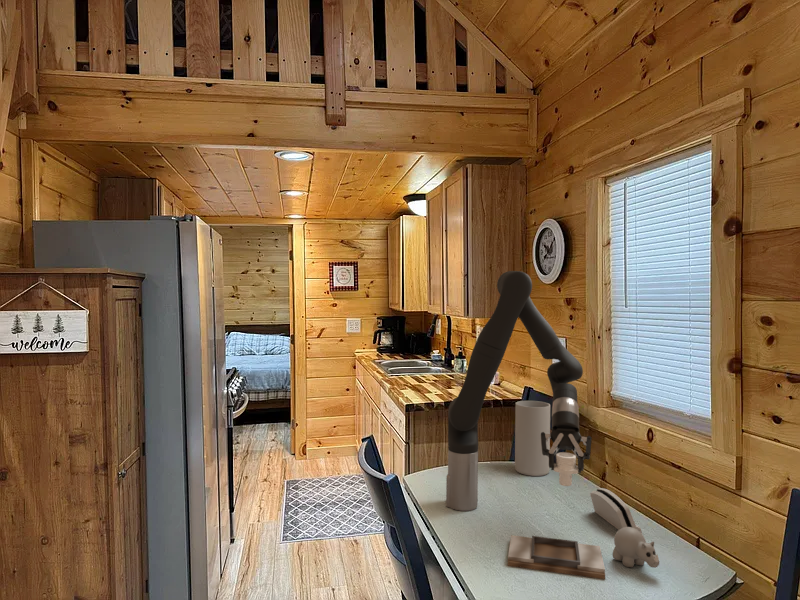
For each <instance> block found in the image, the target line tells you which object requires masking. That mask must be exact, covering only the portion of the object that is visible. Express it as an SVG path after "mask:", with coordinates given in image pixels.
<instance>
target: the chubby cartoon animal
mask: <svg viewBox="0 0 800 600" xmlns="http://www.w3.org/2000/svg"><path fill="white" fill-rule="evenodd" d="M613 541H614V546H615V547H614V548H613V551H612V558H613V559H614V560H615V561H619V562H620V561H621V562H622V565H623V566H625V567H626V568H633V567H634V565H637V566H643V565H644V564H645V562H646V564H647V565H648V567H650V568H658V567H659V566H660V559H659V555H658V554H657V553H656V548H655V541H652V542H651V541H650V543H648V542H647V541H646V538H645V536H644V535H643V533H641V532H639V531H638V530H637V529H635V528H632V527H624V528H621V529H620V530H618V529H617V531H616V533H615V534H614V540H613Z"/></svg>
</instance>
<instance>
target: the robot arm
mask: <svg viewBox="0 0 800 600" xmlns="http://www.w3.org/2000/svg"><path fill="white" fill-rule="evenodd" d="M496 287H497V288H496V289H497V292H498V293H499V298H498V302H497V303H496V304H497V305H496V307H495V310H494V311H493V313H492V315H491V316H490V317H489V320H488V321H487V322H486V323H485V325H484V327H482V329H481V331H480V333H479V335H478V337H477V339H476V341H475V344H474V347H473V349H472V351H471V354H470V358H469V362H468V365H467V366H468V367H467V370H466V375H465V378H464V382H463V385H462V387H461V389H460V391H459V393H458V395H457V397H455V398H454V399H453V400H452V401H451V402H449V405H448V411H447V413H448V415H447V416H448V417H447V418H448V419H447V421H448V422H447V424H448V425H447V445H448V446H447V450H448V451H447V455H448V456H447V475H446V478H445V479H446V483H445V485H446V486H445V487H446V490H445V492H446V495H445V496H446V497H445V498H446V499H445V500H446V501H445V507H446V508H449V509H453V510H456V511H461V512H462V511H463V512H465V511H467V512H469V511H473V510H476V509H477V508H478V502H479V501H478V500H479V499H478V497H479V496H478V495H479V493H478V492H479V491H478V489H479V488H478V487H479V434H478V433H479V430H478V429H479V428H478V427H479V426H478V425H479V423H478V422H479V419H480V416H481V412H482V408H483V404H484V401H485V397H486V396H487V392H488V391H489V388H490V386H491V384H492V382H493V380H494V378H495V376H496V374H497V372H498V370H499V367H500V365H501V363H502V360H503V358H504V356H505V353H506V351H507V349H508V345H509V344H510V343H509V342H510V340H511V337H512V334H513V332H514V329H515V326H516V323H517V320H518V318H519V319H520V321H521V323H522V324H523V326H524V328H525V329H526V331H527V333H528V334H529V336H530V338H531V340H532V342H533V343H534V345H535V346H536V348H537V350H538V351H539V354H540V355H541V356H542V358H543V359H544V360H557V361H556V362H554V363H551V364H549V366H548V368H547V370H546V371H547V377H548V380H549V383H550V386H551V390H552V407H551V431H550V434H545V433H544V432H542V433H541V446H542V454H543V455H546V456H548V457H549V468H550V469H551V471H554V464H555V456H556V454H557V453H558V452H559V450H562V451H563V450H564V451H566V450H567V451H572V452H573V454H574V455H575V456H576V458H577V466H578V473H577V474H579V473H580V474H581V473H582V472H583V471H584V470H585V469H584V466H585V465H584V464H585V463H584V462H585V461H584V460H590V459H591V452H592V451H591V449H592V440H593V439H592V436H590V435H587V436H582V435H581V433H580V412H579V404H578V390H577V387H576V386H575V385H574V384H571V382H575V381H578V380H579V379H580V380H581V378H582V377H583V373H584V370H583V366H582V364H581V362H580V361H579V360H578V359H577V358H576V357H575V356H574V355H573V354H572V353H571V352H570V351H569V350H568V348H566V347H565V346H564V345H563V344H562V341H561V340H560V339H559V337H558V335H557V333H556V332H555V330H554V328H553V327H552V326H551V324H550V323H549V322H548V320H546V319H545V317H544V316H543V314H541V312H540V311H539V309H538V308H537V307H536V305H535V304H534V302H533V300H532V298H531V293H532V289H533V281H532V279H531V277H530V275H529V274H527V273H526V272H523V271H520V270H519V271H518V270H508V271H505V272H503V273H502V274H500V276H499V277H498V279H497V281H496ZM548 439H550V441H552V442H553V443H552V446H550V450H548V449H547V447H546V442H548ZM581 442H582V443H583V446H585V452H583V451H582V449H581V447H580V445H579V444H580V443H581Z"/></svg>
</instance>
